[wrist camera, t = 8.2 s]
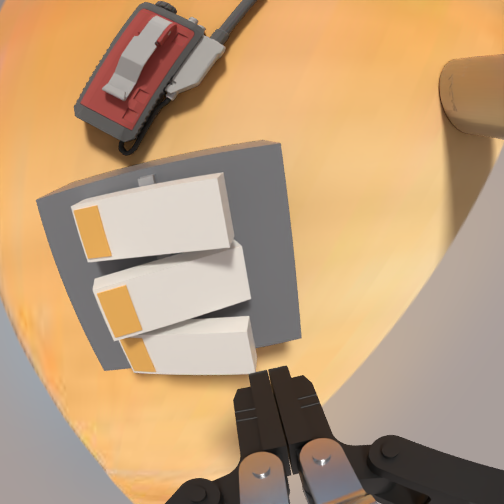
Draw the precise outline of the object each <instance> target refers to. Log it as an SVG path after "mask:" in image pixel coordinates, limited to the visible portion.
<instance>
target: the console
mask: <svg viewBox="0 0 504 504" xmlns="http://www.w3.org/2000/svg"><path fill="white" fill-rule="evenodd" d="M222 172H223V173H224V179H225V185H226V190H227V196H228V202H229V208H230V213H231V219H232V225H233V230H234V240H235V241H237V242H238V243H239V244H240V245H241V246H242V249H243V255H244V261H245V266H246V272H247V278H248V283H249V289H250V295H251V299H249V300H246V301H243V302H240V303H237V304H234V305H231V306H228V307H225V308H222V309H219V310H216V311H213V312H209V313H206V314H203V315H200V316H197V317H194V318H191V319H206V318H224V317H240V316H249V317H250V322H251V328H252V333H253V338H254V343H255V348H259V347H264V346H269V345H273V344H278V343H283V342H287V341H291V340H296V339H300V338H301V326H300V314H299V302H298V291H297V280H296V270H295V260H294V250H293V240H292V231H291V222H290V214H289V205H288V197H287V188H286V180H285V173H284V165H283V157H282V150H281V143H276V142H271V141H265V140H259V141H252V142H246V143H240V144H233V145H228V146H222V147H216V148H211V149H205V150H200V151H195V152H190V153H185V154H180V155H176V156H171V157H167V158H162V159H158V160H153V161H149V162H145V163H141V164H137V165H133V166H129V167H125V168H121V169H117V170H114V171H110V172H106V173H103V174H99V175H96V176H92V177H89V178H86V179H82V180H79V181H76V182H72V183H70V184H68V185H65V186H63V187H61V188H59V189H57V190H55V191H53V192H51V193H49V194H47V195H45V196H43V197H41V198H39V199H37V200H36V202H37V206H38V210H39V213H40V217H41V220H42V223H43V227H44V230H45V233H46V236H47V239H48V242H49V245H50V248H51V251H52V254H53V257H54V260H55V263H56V265H57V268H58V271H59V273H60V276H61V279H62V281H63V284H64V286H65V289H66V291H67V294H68V296H69V298H70V301H71V303H72V305H73V308H74V310H75V312H76V315H77V317H78V319H79V321H80V323H81V326H82V328H83V330H84V332H85V334H86V336H87V338H88V340H89V342H90V344H91V346H92V348H93V350H94V352H95V354H96V356H97V358H98V360H99V362H100V364H101V365H102V367H103V369H104V371H107V370H118V369H127V368H131V366H130V364H129V362H128V359H127V357H126V355H125V353H124V351H123V349H122V347H121V345H120V342H119V340H117V341H114V340H113V338H112V335H111V333H110V331H109V329H108V327H107V324H106V322H105V320H104V317H103V315H102V313H101V310H100V308H99V305H98V303H97V300H96V298H95V295H94V293H93V285H94V279H95V278H99V277H102V276H105V275H109V274H112V273H115V272H119V271H122V270H125V269H129V268H132V267H136V266H139V265H142V264H146V263H149V262H153V261H156V260H159V259H163V258H166V257H170V256H173V255H177V254H180V253H172V254H162V255H153V256H143V257H134V258H124V259H115V260H106V261H97V262H88V261H87V258H86V255H85V252H84V249H83V246H82V243H81V240H80V236H79V233H78V230H77V227H76V223H75V220H74V216H73V213H72V209H71V206H73V205H75V204H76V203H78V202H80V201H82V200H84V199H87V198H91V197H96V196H100V195H104V194H109V193H113V192H118V191H123V190H127V189H132V188H137V187H142V186H147V185H152V184H157V183H162V182H168V181H173V180H179V179H185V178H190V177H196V176H202V175H209V174H215V173H222ZM181 253H184V252H181Z"/></svg>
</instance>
